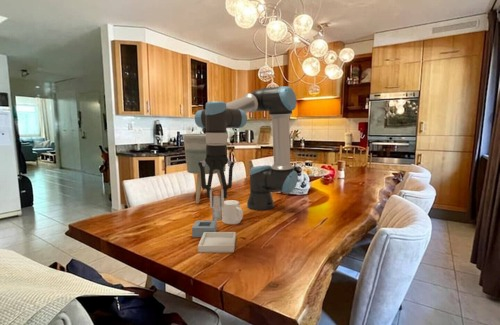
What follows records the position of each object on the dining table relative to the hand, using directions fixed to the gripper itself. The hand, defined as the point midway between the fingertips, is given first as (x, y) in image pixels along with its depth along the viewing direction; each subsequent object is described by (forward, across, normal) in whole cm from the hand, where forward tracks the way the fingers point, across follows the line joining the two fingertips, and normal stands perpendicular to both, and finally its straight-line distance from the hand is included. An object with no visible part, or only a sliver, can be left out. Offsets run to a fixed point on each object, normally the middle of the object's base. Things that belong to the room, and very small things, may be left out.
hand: (217, 206), depth 104 cm
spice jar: (+5, 0, 0) cm, 5 cm away
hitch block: (+15, +7, -12) cm, 20 cm away
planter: (+15, +15, -68) cm, 71 cm away
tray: (+15, 0, 0) cm, 15 cm away
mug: (+15, -4, -26) cm, 30 cm away
